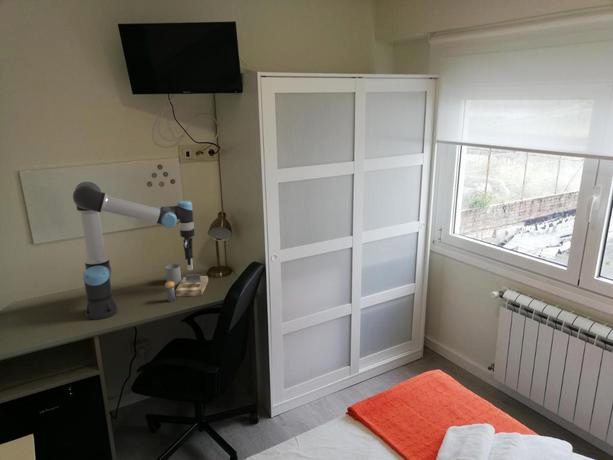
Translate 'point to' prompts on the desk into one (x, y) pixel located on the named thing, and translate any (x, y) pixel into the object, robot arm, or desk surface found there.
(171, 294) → the orange grey cylinder
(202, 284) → the socket board
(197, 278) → the shutter
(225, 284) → the desk surface
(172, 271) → the cup
